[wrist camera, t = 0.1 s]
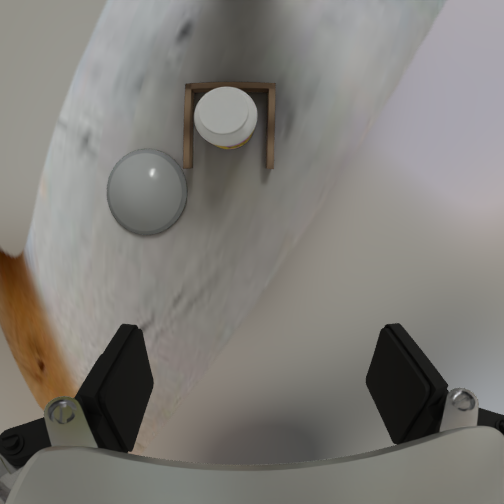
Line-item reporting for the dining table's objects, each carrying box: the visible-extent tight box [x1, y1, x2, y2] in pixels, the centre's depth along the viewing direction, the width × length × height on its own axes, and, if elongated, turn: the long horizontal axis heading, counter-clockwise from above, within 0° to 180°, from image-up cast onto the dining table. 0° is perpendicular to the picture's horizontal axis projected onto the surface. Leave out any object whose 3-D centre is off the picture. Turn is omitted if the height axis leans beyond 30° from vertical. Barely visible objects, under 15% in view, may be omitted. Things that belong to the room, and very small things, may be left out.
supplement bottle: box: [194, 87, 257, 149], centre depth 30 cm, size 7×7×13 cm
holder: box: [183, 82, 275, 169], centre depth 35 cm, size 12×12×2 cm
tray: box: [107, 149, 187, 235], centre depth 38 cm, size 12×12×1 cm
